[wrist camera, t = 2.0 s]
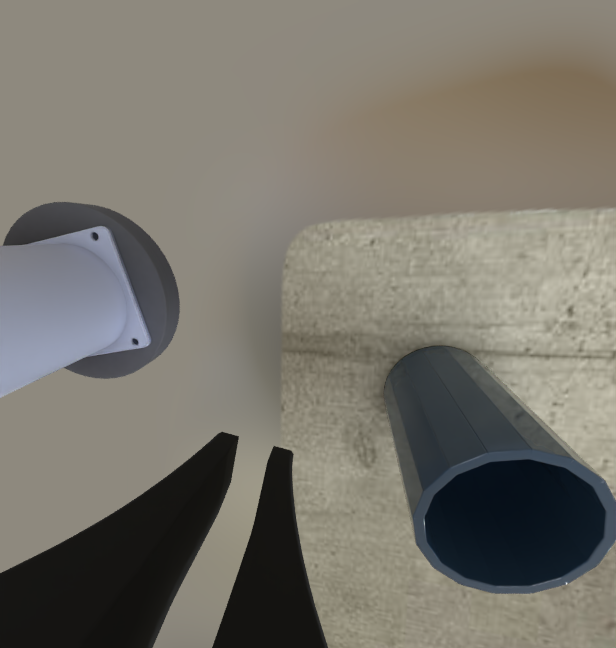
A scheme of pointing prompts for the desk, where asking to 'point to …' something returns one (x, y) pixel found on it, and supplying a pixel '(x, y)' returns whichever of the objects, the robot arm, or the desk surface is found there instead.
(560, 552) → the tumbler
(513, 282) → the desk surface
